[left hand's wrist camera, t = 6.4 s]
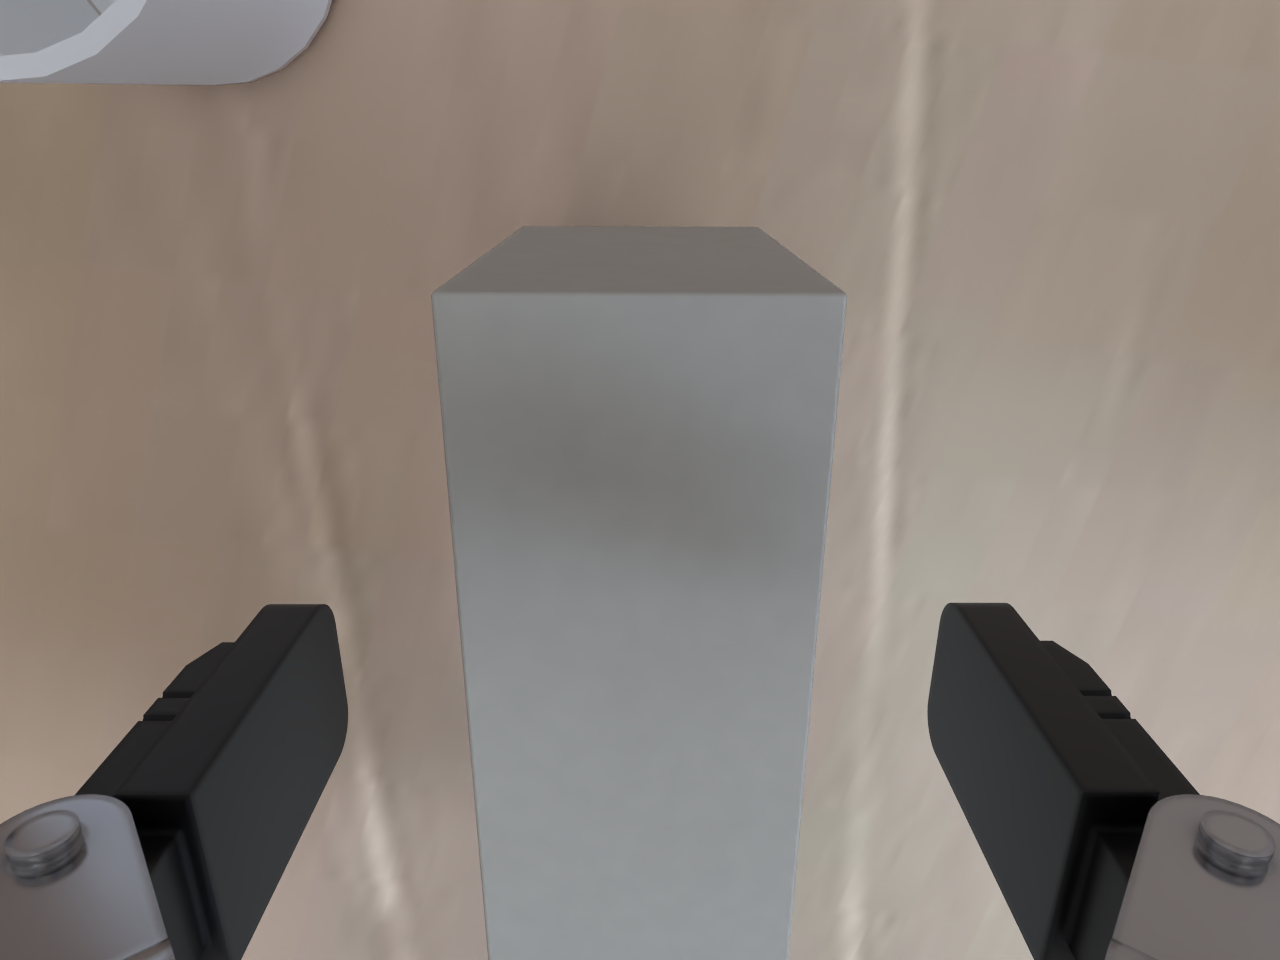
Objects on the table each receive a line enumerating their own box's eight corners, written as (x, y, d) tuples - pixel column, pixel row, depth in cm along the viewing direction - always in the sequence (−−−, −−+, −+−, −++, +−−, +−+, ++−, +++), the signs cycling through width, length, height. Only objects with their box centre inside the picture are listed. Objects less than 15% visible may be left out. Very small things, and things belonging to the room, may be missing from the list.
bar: (521, 226, 20) (429, 292, 11) (759, 226, 20) (848, 293, 11) (558, 1011, 30) (523, 1372, 21) (719, 1012, 30) (751, 1372, 21)
